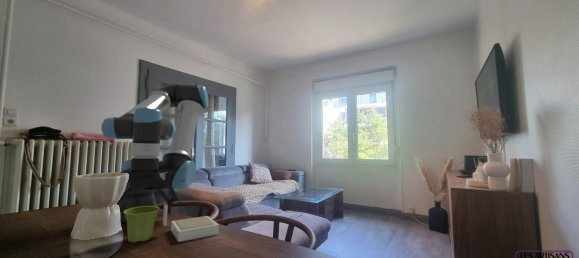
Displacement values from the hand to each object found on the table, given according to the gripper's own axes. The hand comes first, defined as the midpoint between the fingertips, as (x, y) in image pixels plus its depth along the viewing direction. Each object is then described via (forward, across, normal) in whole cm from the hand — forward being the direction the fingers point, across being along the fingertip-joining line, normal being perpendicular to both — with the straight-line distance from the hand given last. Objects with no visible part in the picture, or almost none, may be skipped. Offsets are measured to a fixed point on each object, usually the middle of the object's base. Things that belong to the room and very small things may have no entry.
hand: (140, 228), depth 72 cm
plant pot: (+3, 0, 0) cm, 3 cm away
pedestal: (+3, +15, -3) cm, 16 cm away
